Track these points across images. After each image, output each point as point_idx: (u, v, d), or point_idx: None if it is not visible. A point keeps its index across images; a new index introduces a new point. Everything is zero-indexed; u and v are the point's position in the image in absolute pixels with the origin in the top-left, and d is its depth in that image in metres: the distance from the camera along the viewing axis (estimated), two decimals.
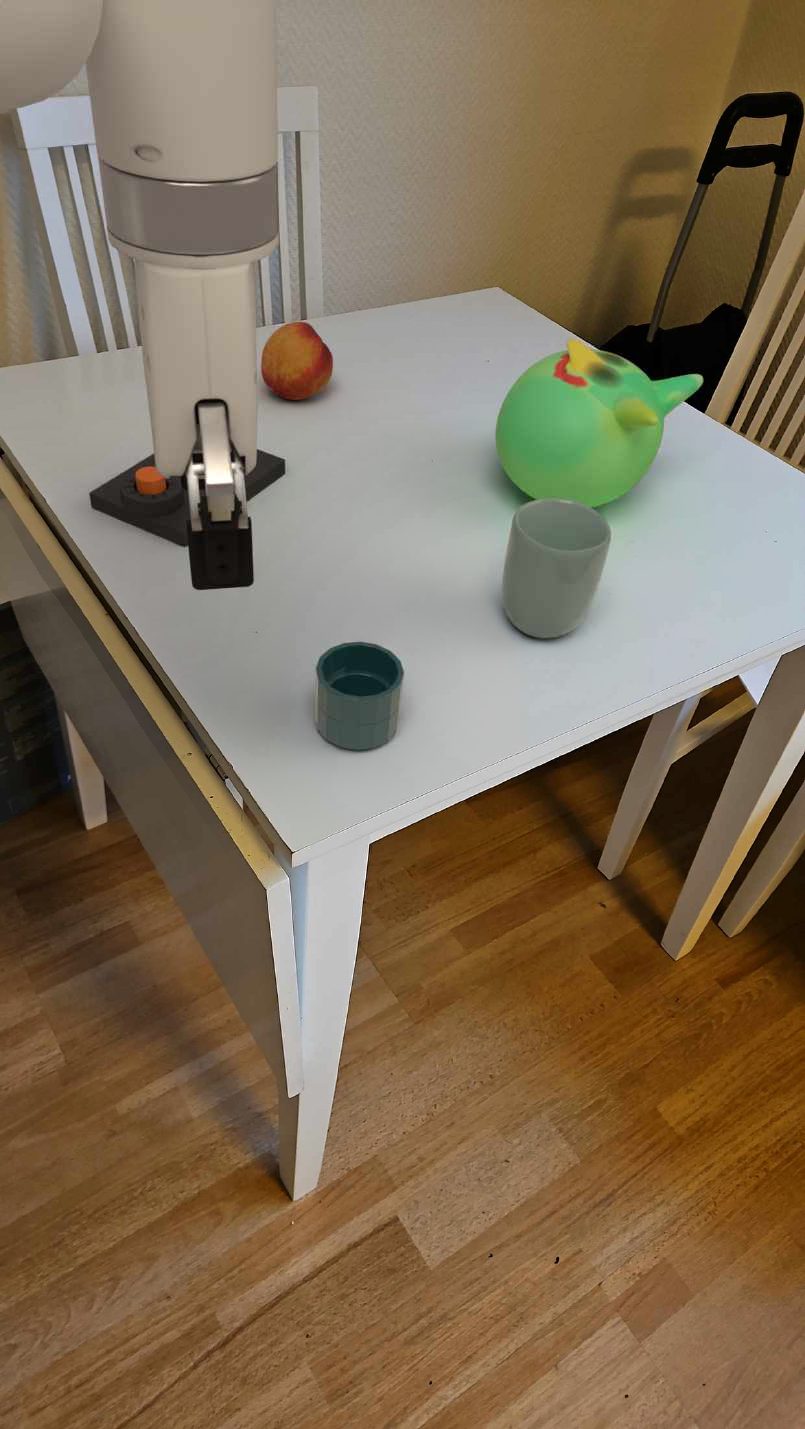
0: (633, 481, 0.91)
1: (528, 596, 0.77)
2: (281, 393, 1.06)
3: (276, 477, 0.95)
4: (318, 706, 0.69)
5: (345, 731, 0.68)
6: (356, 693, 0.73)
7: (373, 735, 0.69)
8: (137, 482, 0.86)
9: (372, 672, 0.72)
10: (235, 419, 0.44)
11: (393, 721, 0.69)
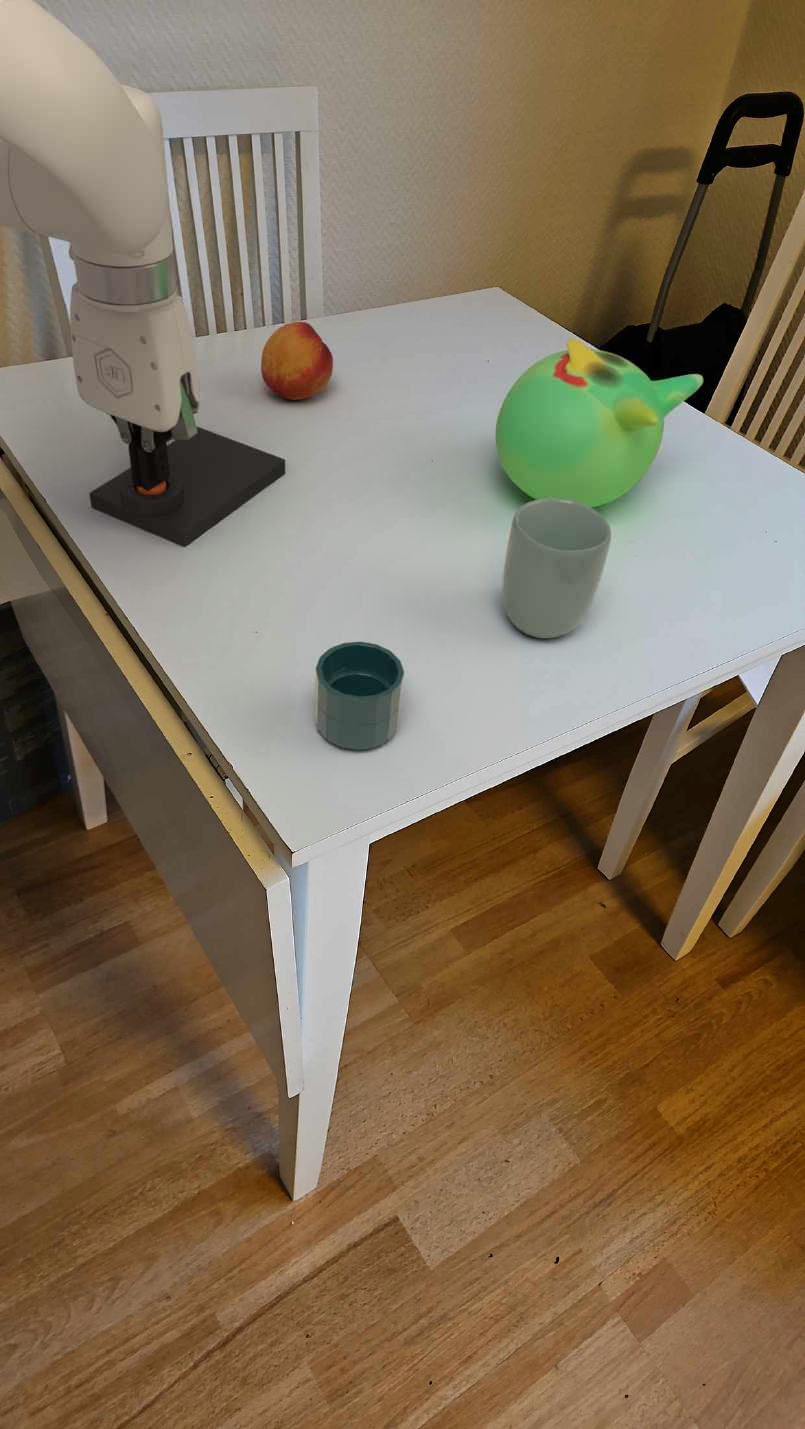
0: (633, 481, 0.91)
1: (528, 596, 0.77)
2: (281, 393, 1.06)
3: (276, 477, 0.95)
4: (318, 706, 0.69)
5: (345, 731, 0.68)
6: (356, 693, 0.73)
7: (373, 735, 0.69)
8: (138, 491, 0.87)
9: (372, 672, 0.72)
10: (194, 381, 0.79)
11: (393, 721, 0.69)
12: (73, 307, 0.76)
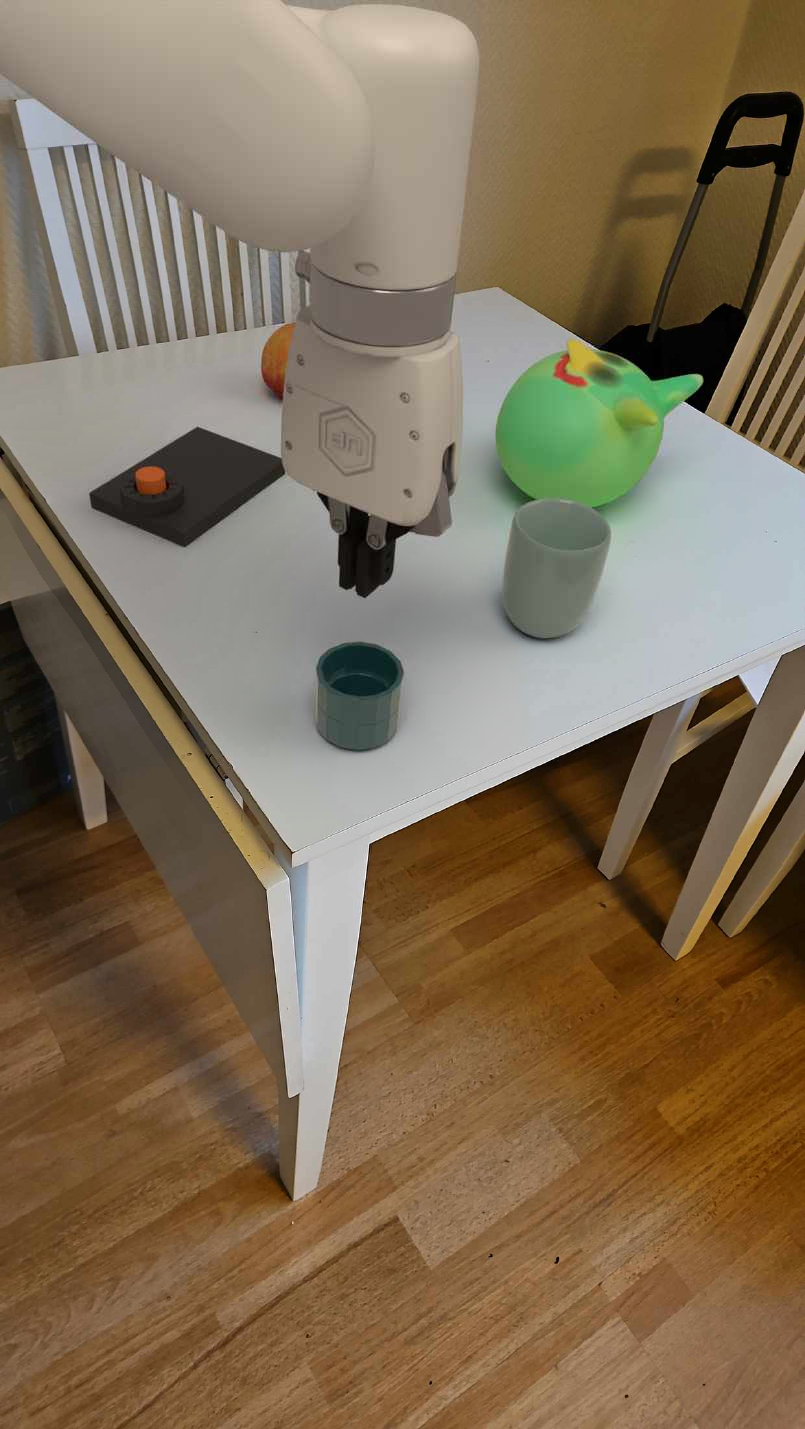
0: (633, 481, 0.91)
1: (528, 596, 0.77)
2: (281, 393, 1.06)
3: (276, 477, 0.95)
4: (318, 706, 0.69)
5: (345, 731, 0.68)
6: (356, 693, 0.73)
7: (373, 735, 0.69)
8: (137, 482, 0.86)
9: (372, 672, 0.72)
10: (456, 454, 0.54)
11: (393, 721, 0.69)
12: (296, 346, 0.52)
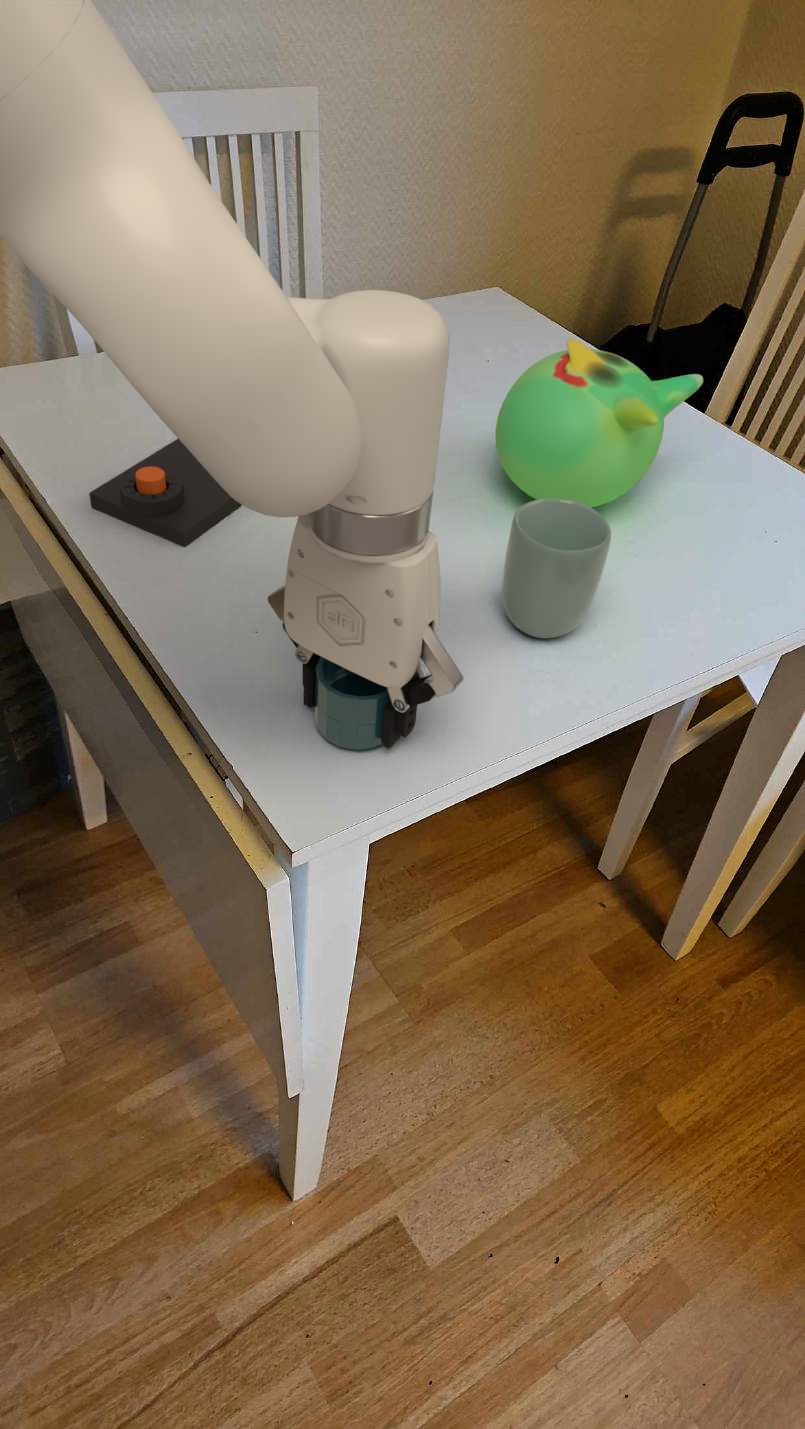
0: (633, 481, 0.91)
1: (528, 596, 0.77)
2: None
3: None
4: (318, 706, 0.69)
5: (345, 731, 0.68)
6: (356, 693, 0.73)
7: (373, 735, 0.69)
8: (137, 482, 0.86)
9: None
10: (435, 628, 0.63)
11: None
12: (297, 542, 0.60)
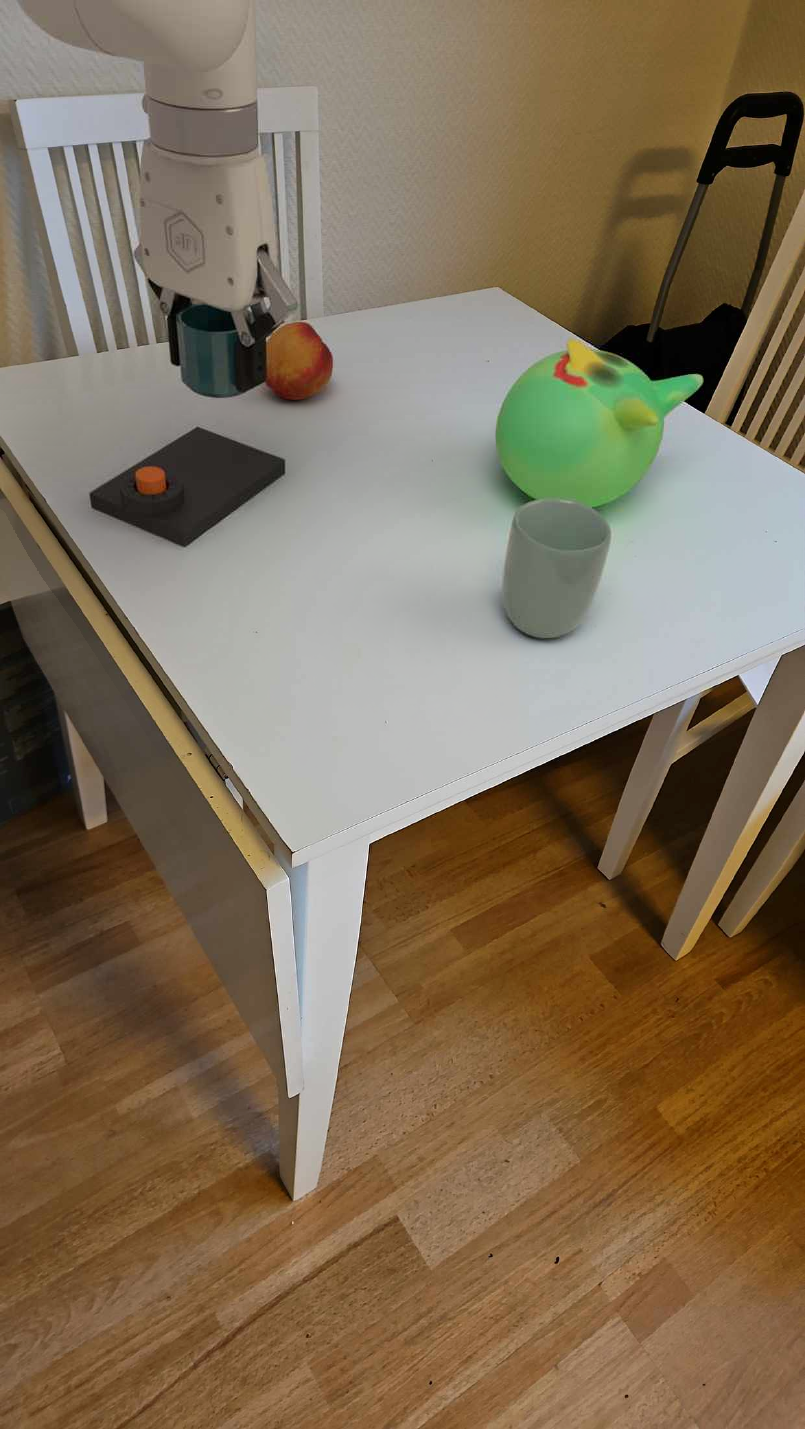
0: (633, 481, 0.91)
1: (528, 596, 0.77)
2: (281, 393, 1.06)
3: (276, 477, 0.95)
4: (179, 353, 0.77)
5: (202, 373, 0.76)
6: None
7: (227, 378, 0.77)
8: (137, 482, 0.86)
9: None
10: (271, 256, 0.71)
11: None
12: (144, 165, 0.69)
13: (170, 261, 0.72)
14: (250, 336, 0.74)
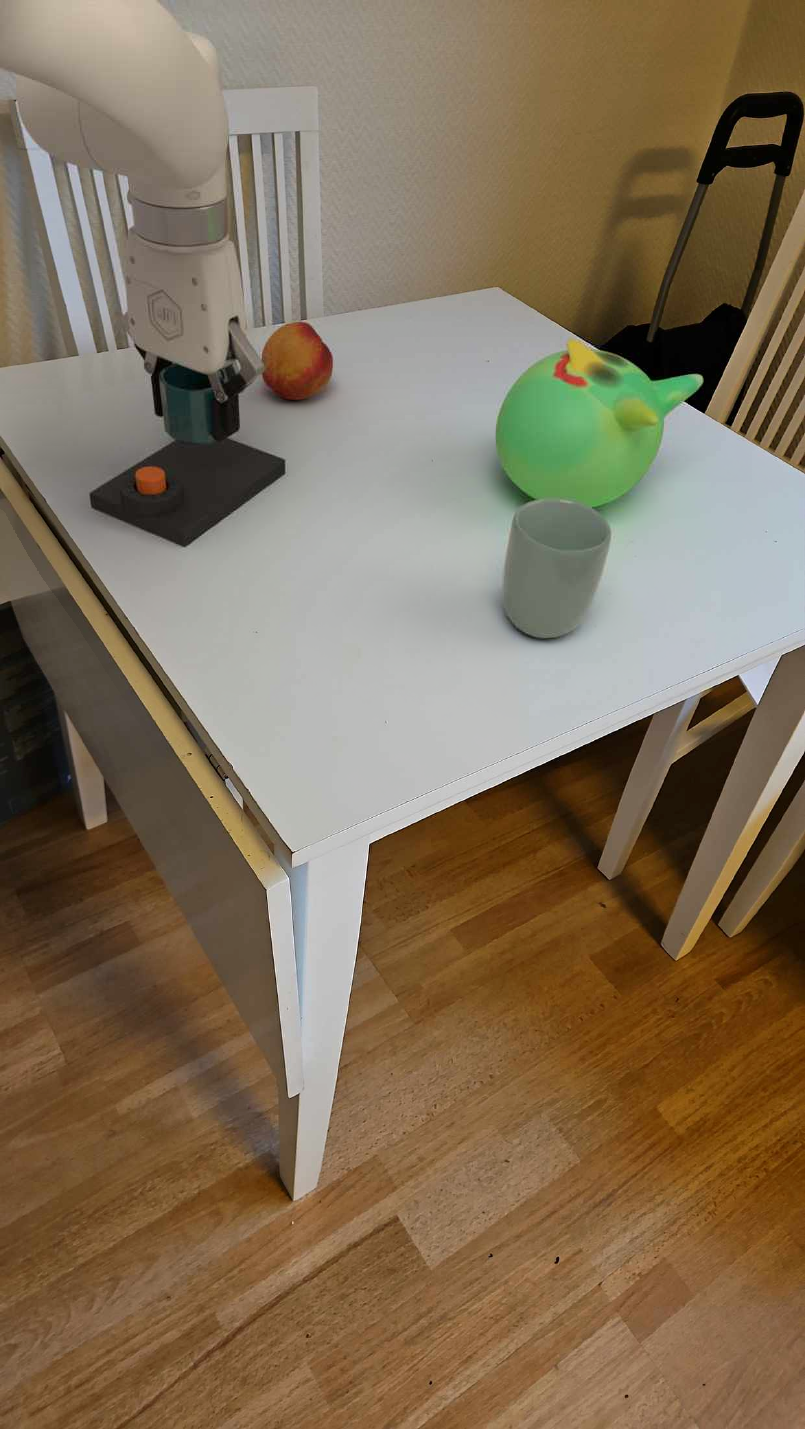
0: (633, 481, 0.91)
1: (528, 596, 0.77)
2: (281, 393, 1.06)
3: (276, 477, 0.95)
4: (162, 407, 0.87)
5: (182, 424, 0.87)
6: None
7: (205, 429, 0.87)
8: (137, 482, 0.86)
9: None
10: (241, 325, 0.82)
11: None
12: (129, 250, 0.79)
13: (153, 330, 0.82)
14: (224, 394, 0.84)
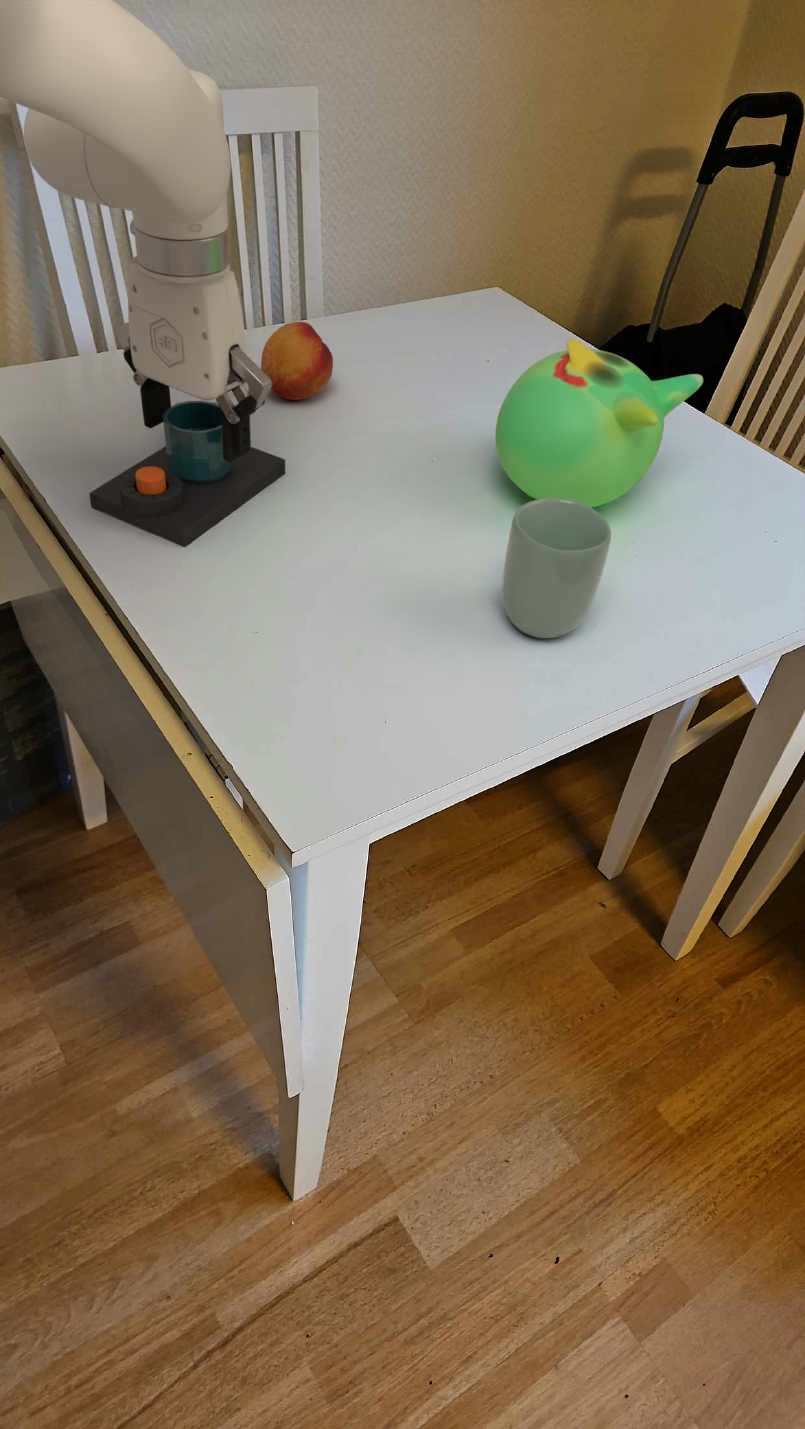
0: (633, 481, 0.91)
1: (528, 596, 0.77)
2: (281, 393, 1.06)
3: (276, 477, 0.95)
4: (166, 446, 0.90)
5: (185, 463, 0.89)
6: None
7: (207, 467, 0.90)
8: (137, 482, 0.86)
9: (212, 428, 0.93)
10: None
11: None
12: (131, 279, 0.80)
13: (155, 357, 0.84)
14: (235, 415, 0.84)
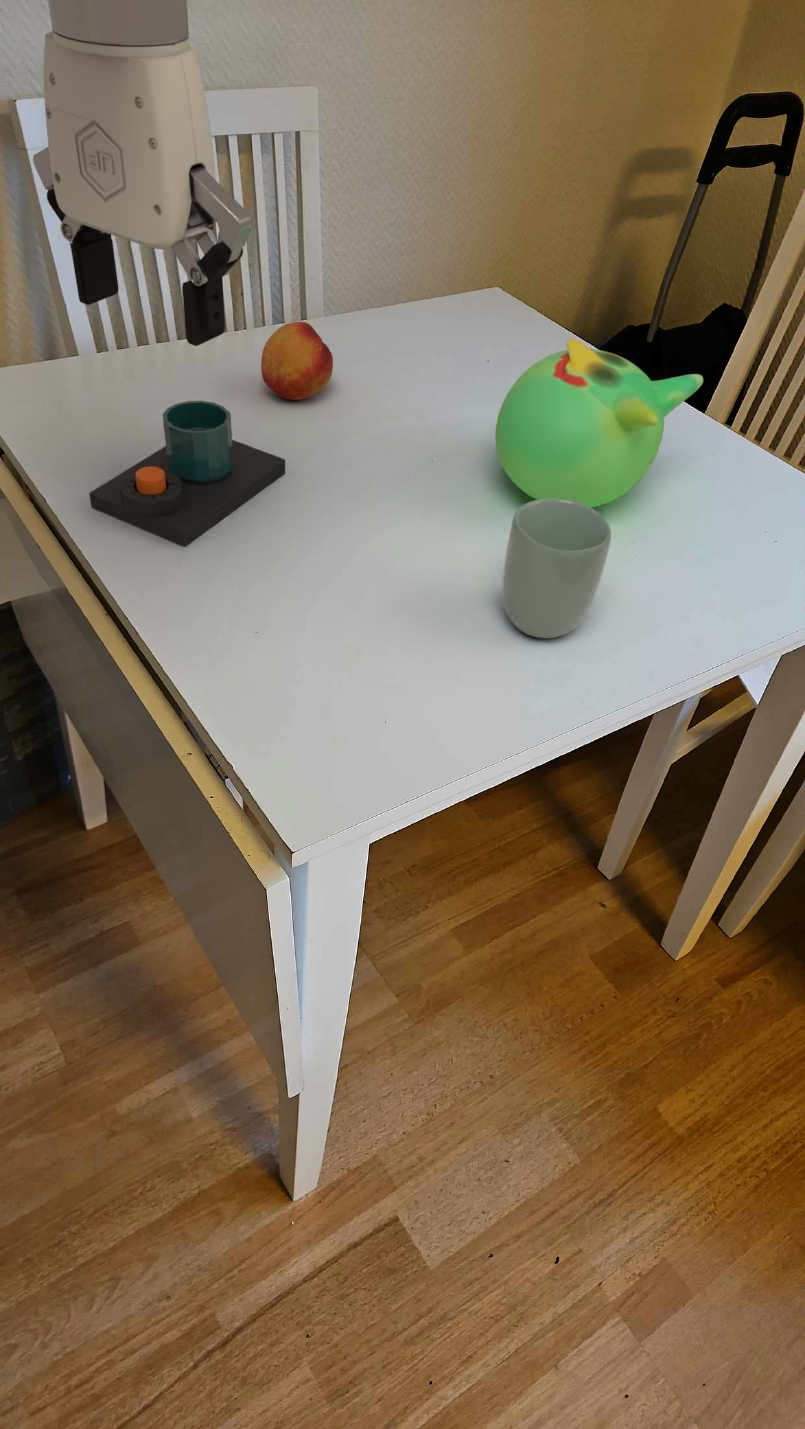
0: (633, 481, 0.91)
1: (528, 596, 0.77)
2: (281, 393, 1.06)
3: (276, 477, 0.95)
4: (166, 446, 0.90)
5: (185, 463, 0.89)
6: None
7: (207, 467, 0.90)
8: (137, 482, 0.86)
9: (212, 428, 0.93)
10: None
11: (224, 459, 0.91)
12: (47, 64, 0.55)
13: (85, 187, 0.58)
14: (201, 273, 0.59)
